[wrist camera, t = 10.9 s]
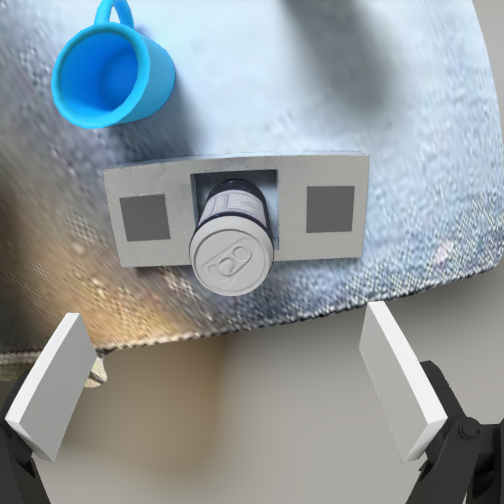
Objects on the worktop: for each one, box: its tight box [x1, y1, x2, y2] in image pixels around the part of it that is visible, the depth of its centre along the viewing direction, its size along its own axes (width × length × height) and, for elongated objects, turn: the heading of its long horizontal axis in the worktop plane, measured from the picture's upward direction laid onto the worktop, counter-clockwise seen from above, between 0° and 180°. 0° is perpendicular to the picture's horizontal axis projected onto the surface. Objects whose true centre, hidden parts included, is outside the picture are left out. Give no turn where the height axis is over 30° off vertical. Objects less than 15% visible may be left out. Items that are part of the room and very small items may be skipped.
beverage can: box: [189, 179, 274, 296], centre depth 26 cm, size 6×6×12 cm
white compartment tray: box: [103, 151, 369, 267], centre depth 30 cm, size 24×10×3 cm, turn 92°
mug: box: [51, 0, 175, 129], centre depth 21 cm, size 12×8×8 cm
